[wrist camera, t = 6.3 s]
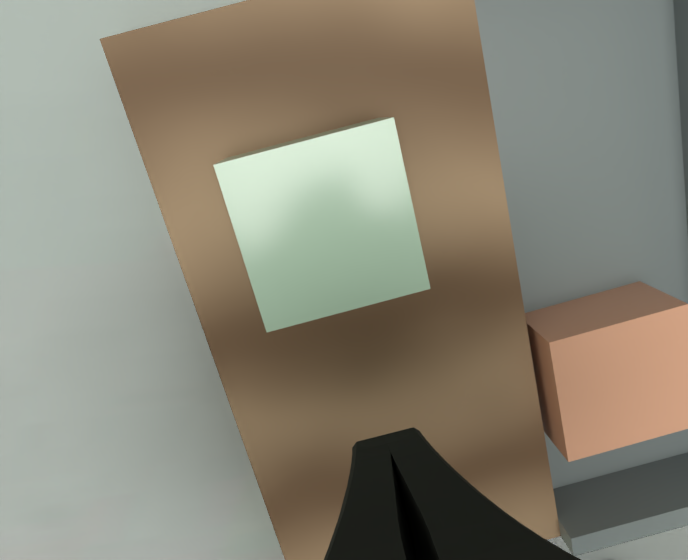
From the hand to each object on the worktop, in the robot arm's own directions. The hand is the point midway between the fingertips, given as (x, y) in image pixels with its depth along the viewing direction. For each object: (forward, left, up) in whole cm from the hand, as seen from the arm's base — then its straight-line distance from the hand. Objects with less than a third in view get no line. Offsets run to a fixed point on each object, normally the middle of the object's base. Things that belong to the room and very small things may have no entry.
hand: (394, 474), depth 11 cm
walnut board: (0, -1, -9) cm, 9 cm away
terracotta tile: (-3, -8, -8) cm, 12 cm away
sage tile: (+4, 0, -7) cm, 8 cm away
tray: (0, -9, -9) cm, 13 cm away
